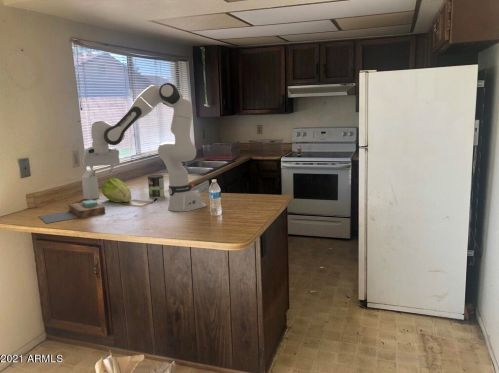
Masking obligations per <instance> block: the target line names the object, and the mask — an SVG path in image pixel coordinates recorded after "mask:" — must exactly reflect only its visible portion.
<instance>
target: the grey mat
mask: <svg viewBox="0 0 499 373" xmlns="http://www.w3.org/2000/svg"><path fill="white" fill-rule="evenodd" d="M38 217H39V218H40V219H41V220H42V221H43V222H44V223H45V224H53V223H58V222H63V221H69V220H77V219H78V216H76V215H75V214H73V213H72V212H70V211H69V210H67V211H60V212H54V213H50V214H48V213H47V214H42V215H38Z"/></svg>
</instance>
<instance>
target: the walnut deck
mask: <svg viewBox="0 0 499 373" xmlns="http://www.w3.org/2000/svg"><path fill="white" fill-rule="evenodd" d="M97 205H98V206H92V207H85V206H84V205H82V202H76V203H69V204H68V211H69V212H70V213H72V214H73V215H74V216H76V217H77V218H79V219H83V218H90V217H95V216H100V215H101V216H102V215H106V207H105V206H104V205H101V204H100V203H98V202H97Z"/></svg>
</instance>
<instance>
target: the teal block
mask: <svg viewBox="0 0 499 373" xmlns="http://www.w3.org/2000/svg"><path fill="white" fill-rule="evenodd" d="M81 203H82V205H84V206H85V207H92V206H98V205H97V203H98V201H95V199H92V200H88V199H87V200H82V201H81Z"/></svg>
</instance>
